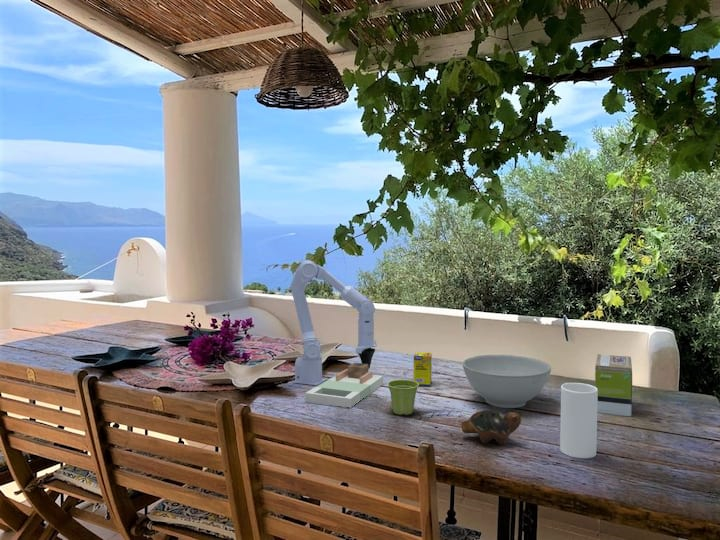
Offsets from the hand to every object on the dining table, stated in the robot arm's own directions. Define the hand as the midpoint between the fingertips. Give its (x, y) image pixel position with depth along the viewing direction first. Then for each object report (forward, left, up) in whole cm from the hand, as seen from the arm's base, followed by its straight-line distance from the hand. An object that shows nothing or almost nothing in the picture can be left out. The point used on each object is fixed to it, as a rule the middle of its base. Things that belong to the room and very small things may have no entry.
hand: (366, 368), depth 195 cm
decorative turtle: (+52, -40, -4) cm, 66 cm away
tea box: (+82, 0, -4) cm, 82 cm away
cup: (+73, -39, -4) cm, 83 cm away
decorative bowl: (+51, -7, -4) cm, 52 cm away
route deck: (0, -17, -4) cm, 18 cm away
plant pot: (+24, -28, -4) cm, 37 cm away
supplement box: (+21, +2, -4) cm, 21 cm away
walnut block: (0, -7, -1) cm, 7 cm away
